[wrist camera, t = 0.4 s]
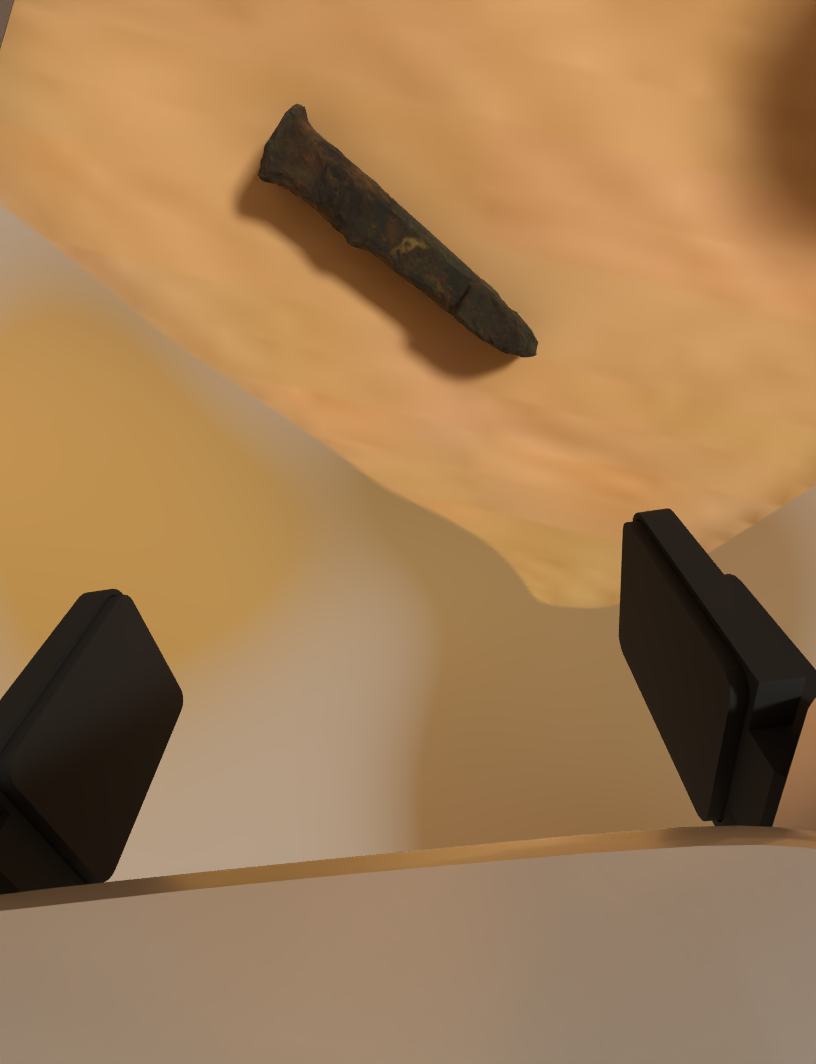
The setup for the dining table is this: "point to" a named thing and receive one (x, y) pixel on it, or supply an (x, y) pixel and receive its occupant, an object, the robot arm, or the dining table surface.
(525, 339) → the hand tool
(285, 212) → the dining table surface
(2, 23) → the base plate
